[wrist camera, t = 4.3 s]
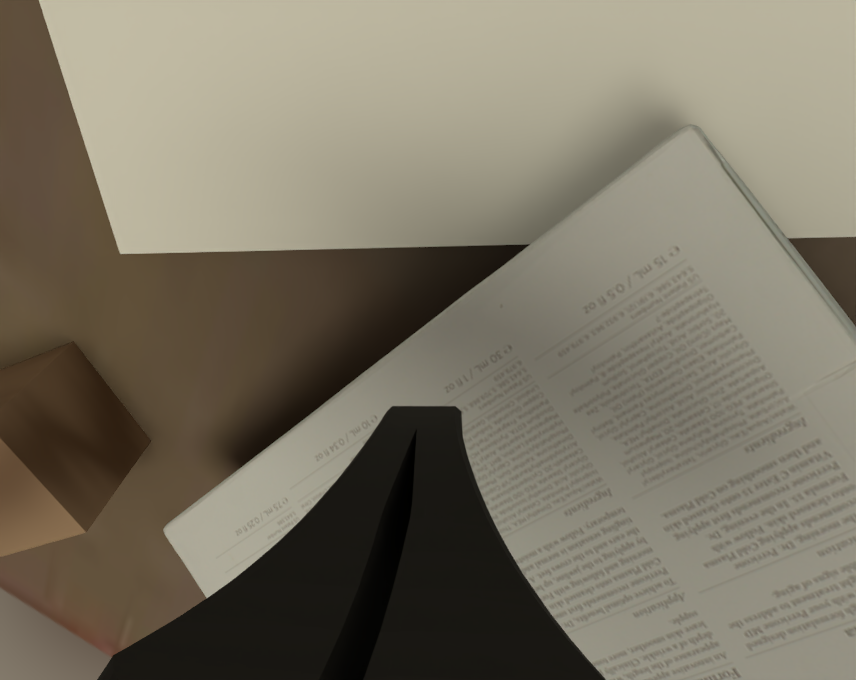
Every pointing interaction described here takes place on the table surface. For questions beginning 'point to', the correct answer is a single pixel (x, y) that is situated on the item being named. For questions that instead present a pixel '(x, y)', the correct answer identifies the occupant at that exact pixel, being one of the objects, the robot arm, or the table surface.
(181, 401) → the table surface
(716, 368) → the grey printed book
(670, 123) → the white tray
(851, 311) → the table surface
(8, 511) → the walnut block
